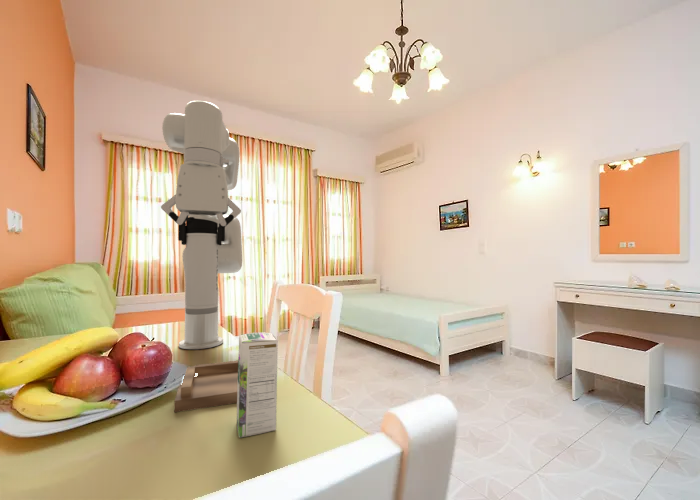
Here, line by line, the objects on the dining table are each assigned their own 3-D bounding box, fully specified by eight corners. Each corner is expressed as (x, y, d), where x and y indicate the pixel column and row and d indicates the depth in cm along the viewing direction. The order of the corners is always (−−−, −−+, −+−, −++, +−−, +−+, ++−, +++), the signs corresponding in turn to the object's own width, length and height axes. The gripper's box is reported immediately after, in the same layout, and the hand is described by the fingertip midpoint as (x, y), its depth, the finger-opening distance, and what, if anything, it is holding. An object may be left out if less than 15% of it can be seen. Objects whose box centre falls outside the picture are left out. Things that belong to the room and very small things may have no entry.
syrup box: (235, 421, 54) (236, 334, 54) (271, 414, 56) (272, 331, 57) (238, 439, 49) (239, 342, 49) (278, 430, 51) (278, 338, 52)
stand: (182, 383, 70) (183, 365, 70) (250, 375, 75) (250, 358, 75) (174, 412, 57) (174, 390, 57) (256, 399, 62) (256, 379, 62)
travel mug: (177, 313, 68) (178, 218, 68) (205, 309, 73) (205, 221, 74) (196, 316, 65) (197, 215, 65) (224, 311, 70) (224, 219, 71)
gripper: (244, 170, 77) (243, 246, 76) (161, 162, 71) (159, 245, 70) (246, 161, 70) (245, 244, 69) (153, 151, 64) (151, 243, 63)
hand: (202, 243), depth 70 cm, fingers closed on travel mug, 6 cm apart
